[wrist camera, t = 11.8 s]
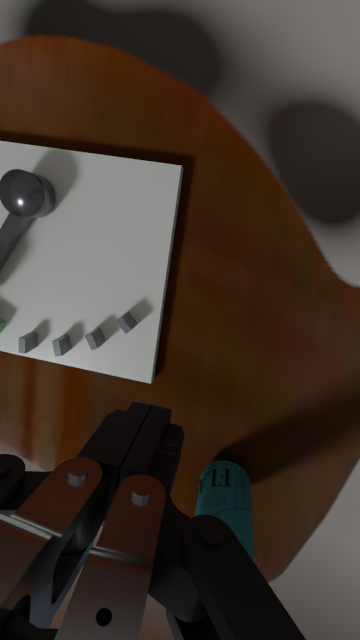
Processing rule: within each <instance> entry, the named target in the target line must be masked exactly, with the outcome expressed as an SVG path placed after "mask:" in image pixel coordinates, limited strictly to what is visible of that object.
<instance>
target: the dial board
mask: <svg viewBox="0 0 360 640" xmlns="http://www.w3.org/2000/svg"><path fill="white" fill-rule="evenodd" d="M12 169H21V170H25V171H28V172H32V173H35V174H38V175H41V176H43V177H45V178H46V179H48V180H49V181H50V183H51V184H52V186H53V188H54V190H55V195H56V201H55V206H54V208H53V210H52V211H51V213H50V214H48V215H47V216H45V217H42V218H32V219H31V221H30V223H29V224H28V226H27V228H26V229H25V231H24V233H23V234H22V236H21V238H20V239H19V241H18V243H17V244H16V246H15V248H14V249H13V251H12V253H11V254H10V256H9V258H8V259H7V261H6V263H5V264H4V266H3V268H2V269H1V271H0V351H4V352H8V353H13V354H17V355H22V356H26V357H31V358H36V359H40V360H45V361H49V362H54V363H59V364H63V365H68V366H72V367H77V368H82V369H86V370H91V371H95V372H100V373H104V374H109V375H114V376H118V377H123V378H127V379H132V380H137V381H141V382H146V383H150V384H151V382H152V380H153V379H154V373H155V366H156V359H157V352H158V345H159V338H160V331H161V324H162V317H163V310H164V303H165V296H166V289H167V282H168V275H169V268H170V261H171V254H172V247H173V240H174V233H175V226H176V219H177V212H178V205H179V198H180V191H181V184H182V177H183V170H184V168H183V167H182V166H180V165H173V164H166V163H158V162H151V161H144V160H136V159H129V158H122V157H115V156H107V155H100V154H93V153H85V152H78V151H71V150H64V149H56V148H49V147H42V146H34V145H27V144H20V143H13V142H5V141H0V180H1V178H2V177H3V175H4V174H5V173H6V172H8V171H10V170H12ZM9 213H10V212H8V211H7V210H6V209H5V207H4V206H3V204H2V203H1V200H0V228H1V227H2V225H3V223H4V221H5V220H6V218H7V216H8V214H9Z"/></svg>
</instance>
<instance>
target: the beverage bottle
mask: <svg viewBox="0 0 360 640" xmlns="http://www.w3.org/2000/svg"><path fill="white" fill-rule="evenodd" d="M198 484H199V483H198ZM197 493H198V498H197V496H196V500H197V504H196V503H195V504H196V512H195V511H194V513H195V516H197V515H203V514H206V515H212V516H215V517H217V518H219V519H221V520H223V521H224V522H225V523H226V524H227V525H228V526H229V527H230V528H231V529H232V531H233V532H234V534H235V535H236V537H237V538H238V540H239V541H240V542H241V544H242V545H243V547H244V548H245V550H246V551H247V553H248V554H249V556H250V557H251V559H252V560H253V562H254V546H253V521H252V519H253V518H252V509H253V508H252V502H251V484H250V480H249V477H248V475H247V473H246V472H245V471H244V469H243V468H241V467H240V466H239V465H237V464H235V463H233V462H230V461H216V462H213V463H211V464H209V465H208V466H207V467H206V468H205V469H204V470H203V473H202V475H201V478H200V484H199V489H197ZM194 510H195V509H194ZM253 515H254V514H253ZM254 563H255V562H254Z"/></svg>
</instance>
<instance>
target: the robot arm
mask: <svg viewBox="0 0 360 640" xmlns="http://www.w3.org/2000/svg"><path fill="white" fill-rule="evenodd" d="M171 413H172V410H171V409H167V408H163V407H159V406H156V405H151V404H148V403H144V402H140V401H136V400H134V401H133V402H132V404H131V405H130V407H129V408H128V410H127V412H126V411H122V410H118V409H117V410H115V411H113V412H112V413H110V414H108V415H107V416H106V417H105V418H104V420H103V421H102V423H101V425H99V427H98V428H97V429H96V431H95V432H94V434H93V435H92V436H91V438H90V439H89V440H88V442H87V443H86V445H85V446H84V447H83V449H82V450H81V451H80V453H79V454H78V456H77V457H73V458H69V459H67V460H65V461H63V462H61V463H60V464H59V465H58V466H57V467H56V468H55V469H54V470H53V471H48V472H35V471H34V472H32V471H25V464H24V462H23V460H22V459H21V458H19V457H17V456H15V455H10V454H0V640H139V637H140V632H141V627H142V621H143V616H144V611H145V605H146V600H147V595H148V594H149V595H150V596H152V597H153V598H154V599H155V600H156V601H158V602H159V603H160V604H161V605H163V606H164V607H165V608H166V615H167V620H168V623H169V626H170V628H171V631H172V633H173V636H174V638H175V640H306V639H305V638H304V636H303V635H302V633H301V632H300V630H299V629H298V627H297V626H296V624H295V623H294V621H293V620H292V618H291V617H290V615H289V614H288V612H287V611H286V609H285V608H284V607H283V605H282V604H281V602H280V600H279V599H278V597H277V596H276V594H275V593H274V592H273V590H272V589H271V587H270V586H269V584H268V583H267V581H266V580H265V578H264V577H263V575H262V574H261V572H260V571H259V569H258V568H257V566H256V565H255V563H254V562H253V560H252V559H251V557H250V556H249V554H248V553H247V551H246V550H245V548H244V547H243V545H242V544H241V542H240V541H239V540H238V538H237V537H236V535H235V534H234V532H233V531H232V529H231V528H230V527H229V526H228V525H227V524H226V523H225V522H224V521H223V520H221V519H219V518H217V517H215V516H212V515H206V514H203V515H197V516H195V517H193V518H189V517H188V516H186V515H185V514H183V513H182V512H181V511H180V510H179V509H177V507H176V506H175V505H174V503H173V502H172V500H171V497H170V494H171V490H172V487H173V483H174V480H175V476H176V472H177V469H178V464H179V459H180V455H181V450H182V445H183V441H184V433H183V430H182V427H181V426H178V425H175V424H171V423H170V418H171ZM100 526H103V529H102V531H101V534H100V537H99V539H98V542H97V545H96V547H95V548H92V547H93V542H94V539H95V537H96V535H97V533H98V531H99V528H100ZM82 566H83V568H82ZM81 568H82V571H81V573H80V576H79V578H78V581H77V583H76V586H75V588H74V591H73V594H72V596H71V599H70V601H69V604H68V606H67V609H66V612H65V614H64V616H63V619H62V622H61V624H60V627H59V629H50V626H51V624H52V621H53V619H54V617H55V615H56V613H57V611H58V609H59V607H60V605H61V604H62V602H63V600H64V598H65V597H66V595H67V593H68V591H69V589H70V588H71V586H72V584H73V582H74V581H75V579H76V577H77V575H78V573H79V572H80V570H81Z"/></svg>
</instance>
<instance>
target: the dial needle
mask: <svg viewBox="0 0 360 640" xmlns="http://www.w3.org/2000/svg"><path fill="white" fill-rule="evenodd" d="M0 200H1V203H2V204H3V206H4V207H5V209H6V210H7V211H8V212H10V213H9V214H8V216H7V218H6V220H5V221H4V223H3V225H2V227H1V228H0V271H1V269H2V268H3V266H4V264H5V263H6V261H7V259H8V258H9V256H10V254H11V253H12V251H13V249H14V248H15V246H16V244H17V243H18V241H19V239H20V238H21V236H22V234H23V233H24V231H25V229H26V228H27V226H28V224H29V223H30V221H31V219H32V218H42V217H45V216H47V215H48V214H50V213H51V211H52V210H53V208H54V206H55V201H56V195H55V190H54V188H53V186H52V184H51V183H50V181H49V180H48V179H46V178H45V177H43V176H41V175H38V174H35V173H32V172H28V171H25V170H21V169H12V170H10V171H8V172H6V173H5V174H4V175H3V177H2V178H1V180H0Z"/></svg>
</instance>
